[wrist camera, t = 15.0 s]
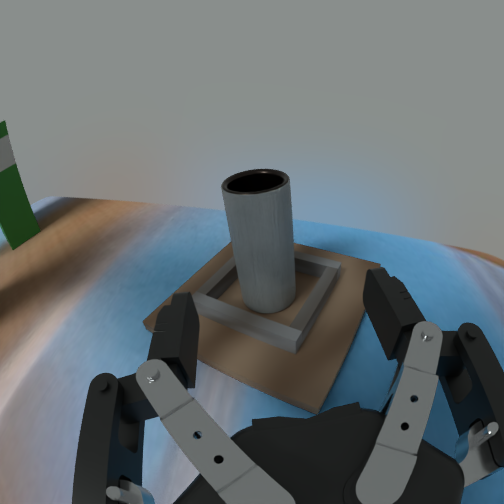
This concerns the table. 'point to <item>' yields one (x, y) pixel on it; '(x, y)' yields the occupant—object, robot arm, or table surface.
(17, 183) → the hardback book
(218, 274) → the base
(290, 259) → the grey cylinder
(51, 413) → the table surface
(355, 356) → the table surface
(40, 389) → the table surface
